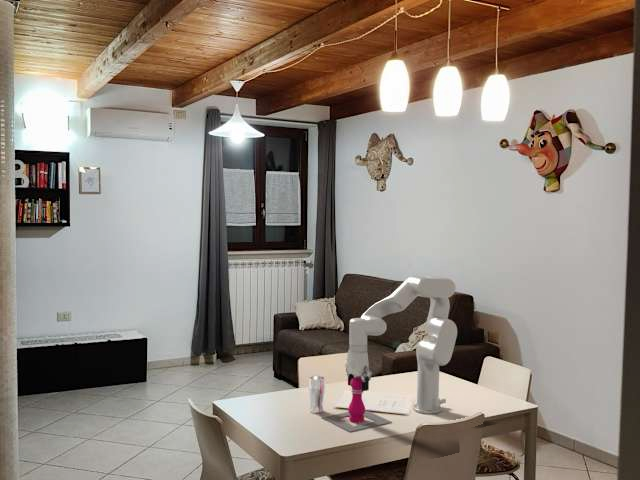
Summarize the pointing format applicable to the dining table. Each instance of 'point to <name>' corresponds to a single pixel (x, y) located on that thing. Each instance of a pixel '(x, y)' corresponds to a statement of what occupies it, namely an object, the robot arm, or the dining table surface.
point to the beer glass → (316, 393)
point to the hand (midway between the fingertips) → (358, 387)
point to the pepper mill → (356, 401)
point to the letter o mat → (378, 421)
